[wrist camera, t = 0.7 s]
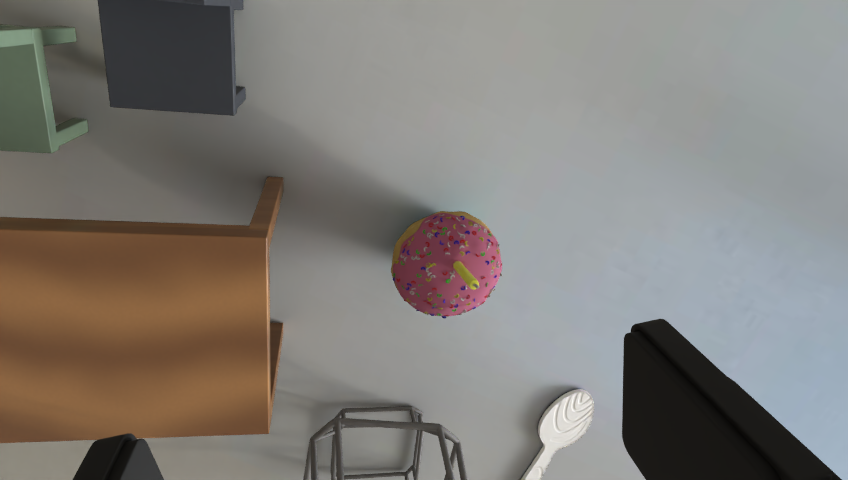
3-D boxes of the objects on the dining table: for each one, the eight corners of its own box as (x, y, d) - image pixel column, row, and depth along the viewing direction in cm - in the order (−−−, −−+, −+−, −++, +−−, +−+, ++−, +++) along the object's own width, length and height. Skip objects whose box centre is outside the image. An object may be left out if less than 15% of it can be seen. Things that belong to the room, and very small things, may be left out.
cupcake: (394, 188, 43) (416, 248, 32) (496, 199, 45) (549, 261, 34) (379, 284, 46) (395, 369, 35) (475, 291, 48) (518, 374, 37)
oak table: (-47, 160, 37) (-205, 223, 26) (283, 177, 41) (267, 237, 30) (-7, 335, 42) (-124, 447, 31) (283, 334, 46) (269, 434, 35)
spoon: (484, 514, 59) (486, 519, 58) (560, 383, 53) (562, 387, 53) (527, 522, 60) (528, 526, 60) (605, 395, 55) (607, 399, 54)
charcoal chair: (130, -19, 34) (29, -34, 23) (244, -7, 36) (204, -15, 24) (141, 93, 37) (55, 131, 25) (247, 101, 38) (211, 140, 27)
